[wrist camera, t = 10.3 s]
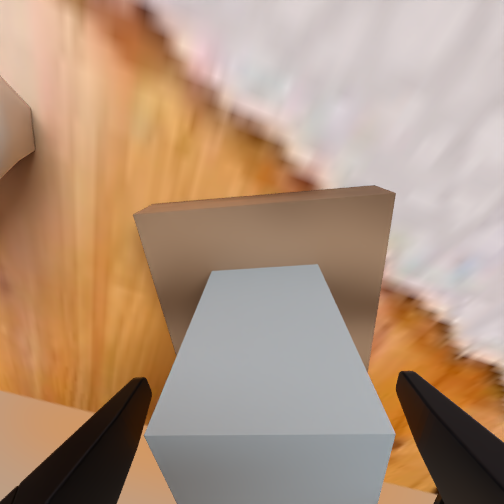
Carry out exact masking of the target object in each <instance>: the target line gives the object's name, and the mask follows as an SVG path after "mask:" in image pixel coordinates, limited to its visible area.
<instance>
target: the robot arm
mask: <svg viewBox="0 0 504 504" xmlns="http://www.w3.org/2000/svg"><path fill="white" fill-rule="evenodd" d="M396 392H397V396H398V398H399V401H400V403H401V406H402V409H403V411H404V414H405V417H406V419H407V422H408V424H409V427H410V430H411V432H412V435H413V437H414V440H415V442H416V445H417V447H418V449H419V452H420V454H421V456H422V458H423V460H424V462H425V464H426V466H427V468H428V470H429V472H430V474H431V477H432V479H433V481H434V483H435V485H436V487H437V489H438V491H439V493H438V495H437V497H436V500H435V502H434V504H504V442H502V441H501V440H500V439H499V438H497V437H496V436H495V435H494V434H492V433H491V432H490V431H489V430H487V429H486V428H485V427H483V426H482V425H481V424H480V423H478V422H477V421H476V420H475V419H473V418H472V417H471V416H470V415H468V414H467V413H466V412H465V411H463V410H462V409H461V408H460V407H458V406H457V405H456V404H455V403H453V402H452V401H451V400H450V399H448V398H447V397H446V396H445V395H443V394H442V393H441V392H439V391H438V390H437V389H436V388H434V387H433V386H432V385H431V384H429V383H428V382H427V381H426V380H424V379H423V378H422V377H421V376H419V375H418V374H417V373H415V372H414V371H401V372H400V373H399V376H398V380H397V384H396ZM151 397H152V392H151V389H150V387H149V384H148V382H147V379H146V378H145V377H136V378H133V379H132V380H131V381H130V382H129V383H128V384H126V385H125V386H124V387H123V388H122V389H121V390H120V391H119V392H118V393H117V394H116V395H115V396H113V397H112V398H111V399H110V400H109V401H108V402H107V403H106V404H105V405H104V406H103V407H102V408H101V409H99V410H98V411H97V412H96V413H95V414H94V415H93V416H92V417H91V418H90V419H89V420H88V421H87V422H86V423H84V424H83V425H82V426H81V427H80V428H79V429H78V430H77V431H76V432H75V433H74V434H73V435H71V436H70V437H69V438H68V439H67V440H66V441H65V442H64V443H63V444H62V445H61V446H60V447H59V448H57V449H56V450H55V451H54V452H53V453H52V454H51V455H50V456H49V457H48V458H47V459H46V460H45V461H44V462H42V463H41V464H40V465H39V466H38V467H37V468H36V469H35V470H34V471H33V472H32V473H31V474H30V475H28V476H27V477H26V478H25V479H24V480H23V481H22V482H21V483H20V485H19V486H17V487H16V488H14V489H13V490H12V491H11V492H10V493H9V494H8V495H7V496H6V497H5V498H4V499H2V500H1V501H0V504H117V501H118V499H119V496H120V493H121V490H122V488H123V485H124V482H125V479H126V477H127V474H128V472H129V469H130V466H131V464H132V461H133V458H134V456H135V453H136V450H137V447H138V444H139V440H140V437H141V434H142V430H143V426H144V423H145V419H146V416H147V412H148V409H149V405H150V401H151Z"/></svg>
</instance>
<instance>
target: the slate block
mask: <svg viewBox="0 0 504 504" xmlns="http://www.w3.org/2000/svg"><path fill="white" fill-rule="evenodd" d="M144 437H145V439H146V441H147V443H148V445H149V447H150V449H151V451H152V453H153V455H154V457H155V459H156V462H157V463H158V466H159V468H160V470H161V472H162V474H163V476H164V478H165V480H166V482H167V484H168V486H169V488H170V490H171V492H172V494H173V496H174V498H175V501H176V503H177V504H377V503H378V500H379V496H380V492H381V488H382V484H383V480H384V476H385V473H386V469H387V465H388V461H389V457H390V453H391V450H392V446H393V442H394V438H395V432H394V430H393V427H392V425H391V423H390V421H389V419H388V417H387V414H386V412H385V410H384V408H383V406H382V403H381V401H380V399H379V397H378V395H377V392H376V390H375V388H374V386H373V384H372V381H371V379H370V377H369V375H368V373H367V371H366V368H365V366H364V364H363V362H362V360H361V357H360V355H359V353H358V351H357V349H356V346H355V344H354V342H353V340H352V338H351V335H350V333H349V331H348V329H347V327H346V325H345V322H344V320H343V318H342V316H341V314H340V311H339V309H338V307H337V305H336V303H335V300H334V298H333V296H332V294H331V292H330V289H329V287H328V285H327V283H326V281H325V279H324V276H323V274H322V272H321V270H320V268H319V265H318V264H313V265H298V266H282V267H267V268H251V269H236V270H220V271H212V272H211V274H210V277H209V279H208V282H207V284H206V286H205V289H204V291H203V294H202V296H201V299H200V301H199V303H198V306H197V308H196V311H195V313H194V315H193V318H192V320H191V323H190V325H189V328H188V330H187V332H186V335H185V337H184V340H183V342H182V345H181V347H180V349H179V352H178V354H177V357H176V359H175V362H174V364H173V366H172V369H171V371H170V374H169V376H168V378H167V381H166V383H165V386H164V388H163V391H162V393H161V395H160V398H159V400H158V403H157V405H156V408H155V410H154V412H153V415H152V417H151V420H150V422H149V425H148V427H147V429H146V432H145V434H144Z"/></svg>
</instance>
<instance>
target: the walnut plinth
mask: <svg viewBox="0 0 504 504" xmlns="http://www.w3.org/2000/svg"><path fill="white" fill-rule="evenodd" d="M395 195H396V193H394V192H391V191H388V190H386V189H383V188H380V187H377V186H375V185H373V186H361V187H349V188H337V189H326V190H314V191H302V192H290V193H278V194H266V195H255V196H243V197H231V198H219V199H207V200H195V201H184V202H172V203H160V204H152V205H150V206H148V207H146V208H144V209H143V210H141V211H139V212H137V213H135V214H133V216H134V219H135V223H136V226H137V229H138V232H139V236H140V239H141V242H142V245H143V249H144V252H145V255H146V258H147V262H148V265H149V268H150V271H151V275H152V278H153V281H154V284H155V288H156V291H157V294H158V297H159V301H160V304H161V307H162V310H163V314H164V317H165V320H166V323H167V327H168V330H169V333H170V336H171V340H172V343H173V346H174V349H175V353H176V356H177V354H178V352H179V349H180V347H181V345H182V342H183V340H184V337H185V335H186V332H187V330H188V328H189V325H190V323H191V320H192V318H193V315H194V313H195V311H196V308H197V306H198V303H199V301H200V299H201V296H202V294H203V291H204V289H205V286H206V284H207V282H208V279H209V277H210V274H211V272H212V271H220V270H236V269H251V268H267V267H282V266H298V265H313V264H318V265H319V268H320V270H321V272H322V274H323V276H324V279H325V281H326V283H327V285H328V287H329V289H330V292H331V294H332V296H333V298H334V300H335V303H336V305H337V307H338V309H339V311H340V314H341V316H342V318H343V320H344V322H345V325H346V327H347V329H348V331H349V333H350V335H351V338H352V340H353V342H354V344H355V346H356V349H357V351H358V353H359V355H360V357H361V360H362V362H363V364H364V366H365V368H366V371H367V373H368V366H369V360H370V354H371V347H372V341H373V335H374V328H375V322H376V316H377V309H378V303H379V297H380V290H381V284H382V278H383V271H384V265H385V259H386V252H387V246H388V239H389V233H390V227H391V220H392V214H393V208H394V201H395Z"/></svg>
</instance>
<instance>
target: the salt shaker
mask: <svg viewBox="0 0 504 504" xmlns="http://www.w3.org/2000/svg"><path fill="white" fill-rule="evenodd" d="M33 151H35V145H34V136H33V127H32V118H31V109H30V107H29V106H28V105H27V104H26V103H25V101H24V100H23V99H22V98H21V97H20V96H19V95H18V94H17V93H16V92H15V91H14V90H13V89H12V88H11V87H10V86H9V84H8V83H7V82H6V81H5V80H4V79H3V78H2V77H1V76H0V179H1V178H2V177H3V176H4V175H5V174H6V173H7V172H8V171H9V170H10V169H11V168H12V167H13V166H14V165H15V164H16V163H17V162H18V161H19V160H21V159H22V158H24V157H25V156H27V155H29V154H30V153H32V152H33Z"/></svg>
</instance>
